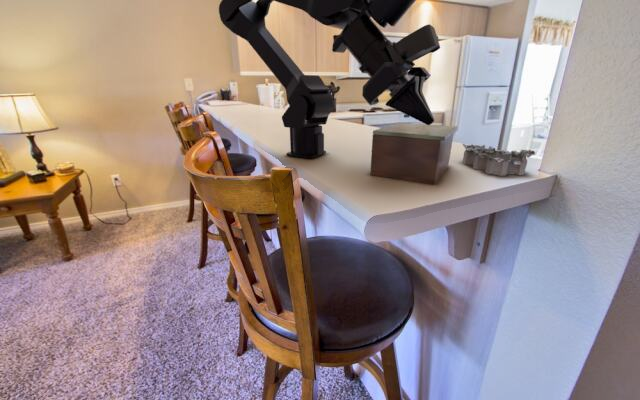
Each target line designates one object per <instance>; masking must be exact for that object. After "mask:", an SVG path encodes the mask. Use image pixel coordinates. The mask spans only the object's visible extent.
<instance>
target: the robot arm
mask: <svg viewBox="0 0 640 400" xmlns="http://www.w3.org/2000/svg"><path fill="white" fill-rule="evenodd" d="M416 1H417V0H257V1H256V2H255V1H254V0H221V2H220V3H219V5H218V14H219V18H220V21H221V23H222V24H223V25H224V27H226V28H227V29H228V30H229V31H230V32H231V33H233V34H235V35H236V36H238V37H240V38H241V39H243V40H245V41H246V42H247V43H248V45H250V46H251V48H252V49H253V50H254V51H255V53H256V54H257V55H258V57H259V58H260V59H261V60H262V62H263V63H264V64H265V65H266V67H267V68H268V69H269V71H270V72H271V73H272V75H274V77H275V78H276V79H277V80H278V81H279V84H281V85H282V87H283V88H284V90H285V95H286V102H287V104H288V107H287V108H286V110H285V112H284V113H283V114H282V115H281V120H282V123H283V127H284V128H288V129H289V143H290V145H289V146H290V151H288V152H285V153H286V154H285V155H286V156H288V157H295V158H301V159H302V158H303V159H309V160H310V159H314V158H317V157H319V156H322V155H325V154H326V153H327V150H325V134H324V133H323V125H327V122H328V120H329V119H328V118H329V116H330V114H331V113H332V110H333V108H334V98H333V95H332V94H331V91H332V89H331V88H330V87H329V86H327V85H326V84H325V83H324V81H323V79H322V78H321V77H320V75H317V74H316V75H315V74H314V75H311V74H305V73H303V71H302V69H300V67H299V66H298V65H297V64H296V62H295V61H294V60H293V59H292V57H290V56H289V54H288V52H286V50H285V49H284V48H283V47H282V45H280V43H279V42H278V40H277V39H276V38H275V37H274V36H273V34H272V33H271V32H270V31H269V30H268V28H267V27H266V17H267V16H268V14H269V11H270V7H271V4H272V3H273V2H277V3H279V4H282V5H286V6H289V7H292V8H296V9H299V10H302V11H303V12H305V13H306V14H307V15H309V17H311V18H312V19H314V20H315V21H316V22H318V23H320V24H322V25H323V26H327V27H331V28H334V29H338V30H342V31H341V32H340V33H339V34H334V35H333V36H332V39H333V42H332V47H331V50H332V52H333V53H340V54H341V53H342V54H344V53H345V52H346V51H348V52H349V53H350V54H351V55H352V57H353V58H354V59H355V60H356V62H357V63H358V64H359V68H358V69H359V71H360V72H361V73H362V74H367V75H368V76H369V79H368V80H367V81H366V82H365V83H364V85H362V94H361V95H362V97H363V99H364V100H365V102H366V103H367V104H368V105H369V106H374V105H377V104H378V103H379V102H380V100H379V97H380V96H381V95H383V93H387V92H389V94H388V95H389V97H390V98H389V100H387V102H385V106H386V107H388V108H391V109H393V110H396V111H398V112H400V113H402V114H404V115H406V116H408V117H411V118H412V119H415V120H417V121H418V122H420V123H422V124H427V125H433V124H434V122H435V117H434V115H433V113H432V111H431V109H430V108H431V107H429V104H428V102H427V99H426V98H425V95H424V92H423V88H424V83H425V82H427V81H428V79H429V78H430V77H431V73H429V71H428V70H427V69H426V68H425V67H422V66H416V64H415V61H417V60H419V59H420V58H422V57H425V56H427V55H429V54H430V53H432V54H433V53H435V52H437V51H438V50H440V49H441V44H440V42H439V36H438V35H437V32H436V29H435V27H434V26H433V25H431V24H425V25H423V26H420V28H418V29H416V30H414V31H413V32H410V34H407V35H406V36H404V37H402V38H401V39H399V40H398V41H397V42H396V41H391V40H390V39H388V37H387V36H386V35H385V34H384V33H383V32H382V30H381V29H380V28H379V27H378V26H380V27H382V28H384V29H385V28H387V26H388V25H389V26H391V27H395V26H396V25H397V24H398V23H399V21H400V20H401V19H402V18H403V17H404V15H405V14H406V13H407V12H408V11H409V9H410V8H411V7H412V6H413V4H415V2H416ZM372 19H373V20H372Z"/></svg>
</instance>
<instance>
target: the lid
mask: <svg viewBox="0 0 640 400" xmlns="http://www.w3.org/2000/svg"><path fill="white" fill-rule="evenodd" d="M458 128H459V126H456V125H443V124H430V125H427V124H425V123H412V122H411V123H408V122H395V123H392V124H389V125H386V126H383V127H381V128H377V129H374V130H373V131H372V135H385V136H397V137H408V138H420V139H431V140H442V141H444V140H446V139H447V138H448V137H449V136H450V135H452V134H453V133H456V132H457V131H458ZM453 135H454V134H453Z"/></svg>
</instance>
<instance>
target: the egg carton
mask: <svg viewBox="0 0 640 400" xmlns="http://www.w3.org/2000/svg"><path fill="white" fill-rule="evenodd" d="M462 146H463V147H464V149H465V150H463V151H464V152H463V156H462V161H461V162H462V164H463V165H469V166H470V165H471V166H472V168H473V169H475V170H484V171H485V172H484V173H485V174H487V175H492V176H493V175H495V176H499V177H503V176H504V177H505V176H507V174H508V175H509V174H510V175H511V174H512V175H517V176H524V175H525V172H526V167H527V165H528V158H530V157H532V156H534V155H535V154H536V152H535V150H531V149H521V150H520V151H517V150H511V151H509V150H502V149H497V150H496V147H492V146H489V147H488V148H487V147H486V145H485V144H482V145H477V144H476V145H474V144H465V143H462Z"/></svg>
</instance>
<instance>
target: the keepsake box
mask: <svg viewBox="0 0 640 400" xmlns="http://www.w3.org/2000/svg"><path fill="white" fill-rule="evenodd" d="M454 133H455V132H454ZM454 133H453V134H452V135H450V136H449V137H448V138H447V139H446V140H444V141H442V140H431V139H420V138H408V137H397V136H385V135H374V134H372V142H371V156H370V157H371V158H370V174H369V175H370V176H376V177H383V178H389V179H395V180H401V181H402V180H403V181H409V182H415V183H420V184H428V185H435V184H436V183H437V182H438V181H439V179H440V178H441V177H442V176H443V174H444V173H445V171H446V170H447V169H448V167H449V166H450V165H449V164H450V159H451V151H452V144H453V141H454V140H453V139H454V135H455V134H454Z"/></svg>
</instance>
